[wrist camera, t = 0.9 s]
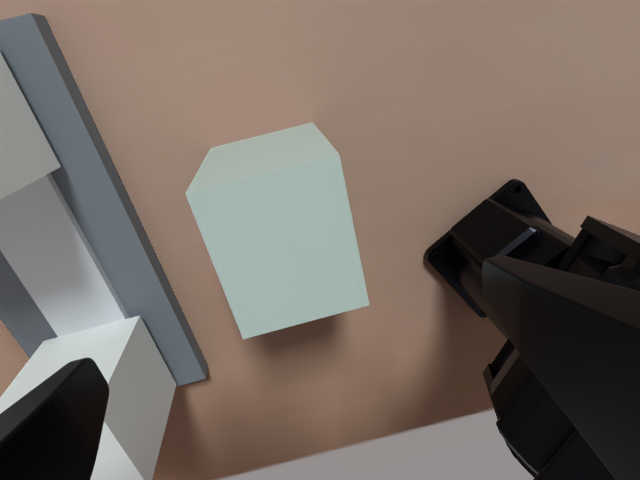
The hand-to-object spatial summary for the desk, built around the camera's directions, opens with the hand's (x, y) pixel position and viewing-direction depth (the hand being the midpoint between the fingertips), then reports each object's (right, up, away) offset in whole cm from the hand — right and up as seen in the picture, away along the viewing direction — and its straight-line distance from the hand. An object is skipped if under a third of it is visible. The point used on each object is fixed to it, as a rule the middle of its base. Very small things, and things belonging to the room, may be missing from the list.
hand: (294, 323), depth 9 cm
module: (-2, +4, +11) cm, 12 cm away
